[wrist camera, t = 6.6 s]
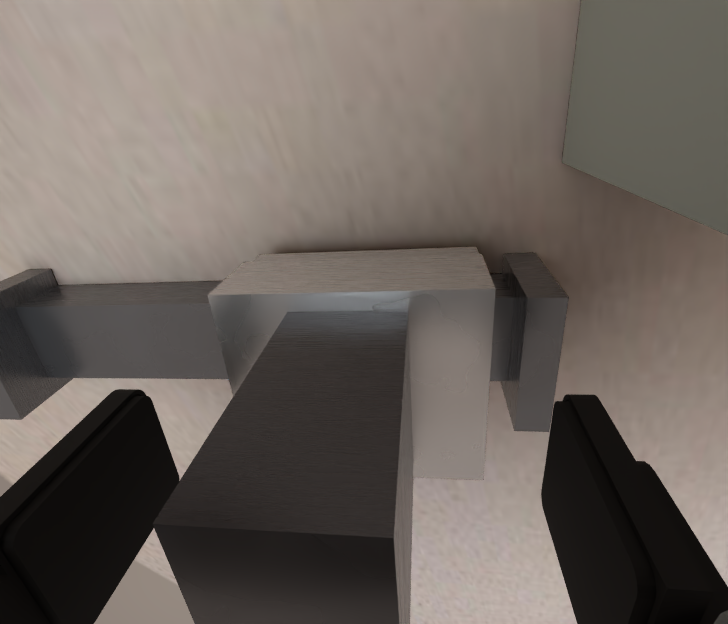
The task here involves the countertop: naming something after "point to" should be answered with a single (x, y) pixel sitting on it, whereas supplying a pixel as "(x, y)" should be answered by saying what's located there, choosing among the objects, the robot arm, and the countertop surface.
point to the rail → (201, 343)
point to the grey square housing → (654, 102)
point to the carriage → (331, 432)
